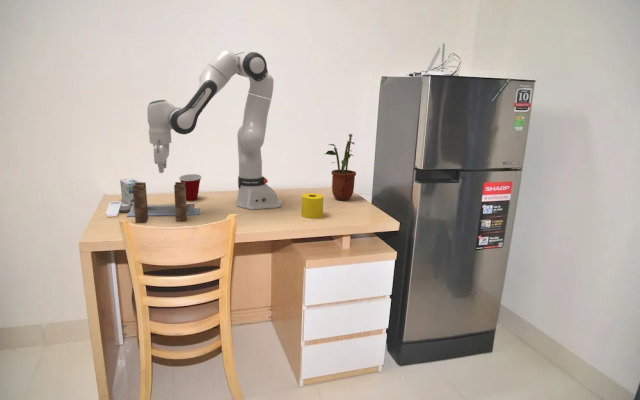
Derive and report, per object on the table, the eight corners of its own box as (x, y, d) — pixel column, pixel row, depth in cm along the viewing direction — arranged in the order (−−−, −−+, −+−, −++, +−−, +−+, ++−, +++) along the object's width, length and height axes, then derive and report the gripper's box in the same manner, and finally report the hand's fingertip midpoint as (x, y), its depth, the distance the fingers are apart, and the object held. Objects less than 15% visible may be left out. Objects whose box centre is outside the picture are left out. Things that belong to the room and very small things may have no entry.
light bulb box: (144, 203, 201) (142, 181, 198) (129, 206, 197) (127, 183, 194) (135, 198, 209) (133, 177, 206) (121, 200, 204) (119, 179, 201)
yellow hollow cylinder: (299, 217, 191) (299, 197, 189) (303, 211, 201) (303, 192, 198) (320, 219, 190) (321, 199, 187) (323, 213, 199) (324, 194, 197)
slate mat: (199, 209, 196) (199, 208, 196) (198, 215, 188) (198, 213, 188) (131, 210, 189) (131, 209, 189) (126, 217, 181) (126, 215, 181)
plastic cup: (175, 200, 208) (174, 177, 205) (188, 195, 218) (187, 173, 215) (193, 203, 205) (193, 179, 202) (206, 198, 215) (205, 175, 212)
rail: (194, 210, 193) (194, 203, 192) (194, 212, 190) (194, 205, 189) (134, 211, 187) (133, 205, 186) (133, 213, 184) (132, 207, 183)
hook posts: (186, 217, 184) (185, 182, 180) (185, 221, 179) (184, 185, 174) (138, 218, 180) (135, 182, 176) (135, 223, 174) (132, 185, 170)
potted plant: (353, 196, 232) (358, 133, 222) (355, 204, 217) (360, 136, 207) (322, 194, 232) (325, 131, 222) (321, 202, 217) (325, 134, 207)
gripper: (165, 142, 171) (167, 175, 174) (170, 135, 190) (173, 165, 194) (148, 142, 169) (151, 175, 173) (156, 135, 188) (158, 165, 192)
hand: (163, 170), depth 183 cm, fingers open, 8 cm apart
